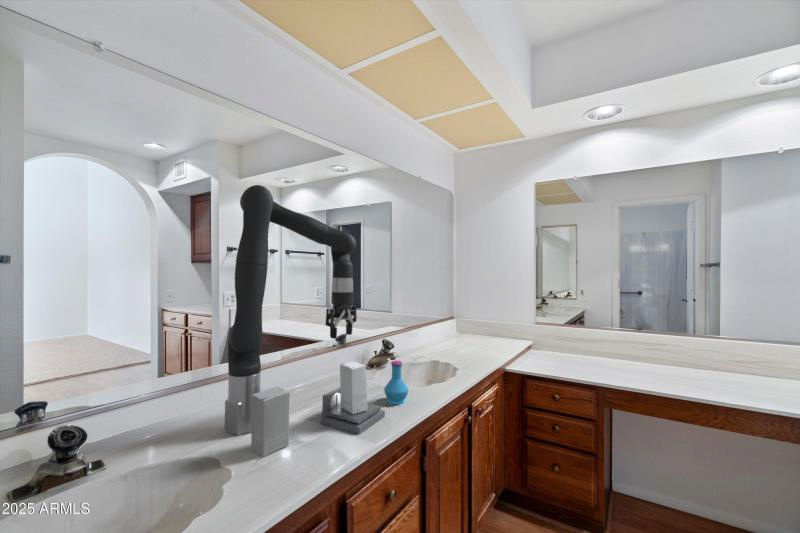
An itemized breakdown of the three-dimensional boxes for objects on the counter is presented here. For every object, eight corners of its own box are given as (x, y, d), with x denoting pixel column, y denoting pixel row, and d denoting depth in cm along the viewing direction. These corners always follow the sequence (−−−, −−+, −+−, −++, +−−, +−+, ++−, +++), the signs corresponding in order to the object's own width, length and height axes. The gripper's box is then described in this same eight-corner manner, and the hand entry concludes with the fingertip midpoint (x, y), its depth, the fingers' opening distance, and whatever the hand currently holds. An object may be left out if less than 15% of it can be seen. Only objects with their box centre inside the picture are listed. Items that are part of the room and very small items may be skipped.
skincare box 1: (276, 439, 106) (277, 385, 106) (290, 447, 101) (291, 390, 101) (248, 450, 99) (249, 392, 99) (262, 459, 95) (263, 398, 95)
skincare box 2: (367, 411, 118) (368, 365, 118) (351, 415, 115) (352, 368, 115) (354, 403, 125) (355, 360, 125) (338, 407, 121) (339, 362, 121)
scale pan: (358, 425, 111) (358, 420, 111) (325, 416, 117) (325, 411, 117) (380, 410, 123) (380, 406, 123) (349, 403, 129) (349, 399, 129)
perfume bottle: (412, 404, 135) (412, 363, 135) (388, 407, 132) (389, 365, 132) (402, 395, 144) (403, 357, 144) (380, 398, 140) (381, 359, 140)
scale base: (359, 434, 110) (359, 407, 110) (317, 422, 118) (317, 397, 118) (384, 416, 123) (385, 393, 123) (345, 407, 131) (345, 384, 131)
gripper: (346, 289, 136) (345, 332, 136) (320, 290, 124) (319, 338, 124) (362, 290, 133) (361, 334, 133) (337, 292, 120) (336, 340, 120)
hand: (341, 336), depth 128 cm, fingers open, 8 cm apart
